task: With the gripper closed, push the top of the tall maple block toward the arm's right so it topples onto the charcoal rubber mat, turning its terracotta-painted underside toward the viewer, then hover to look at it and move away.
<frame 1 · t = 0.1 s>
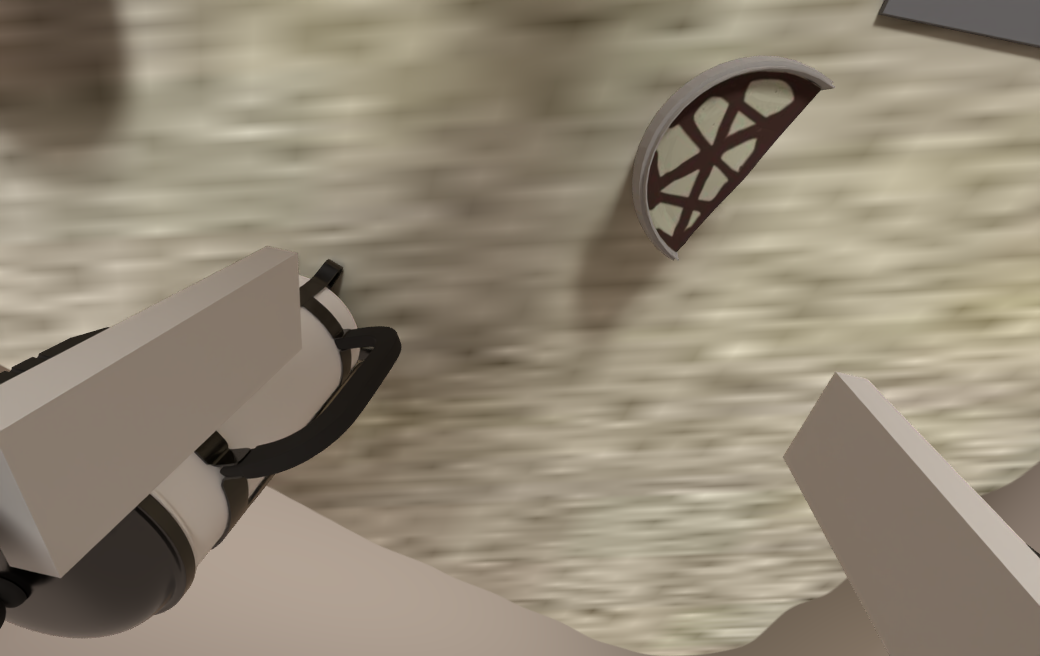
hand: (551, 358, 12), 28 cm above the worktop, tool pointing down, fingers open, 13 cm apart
coffee press: (322, 314, 45), on the worktop
food container: (674, 131, 34), on the worktop
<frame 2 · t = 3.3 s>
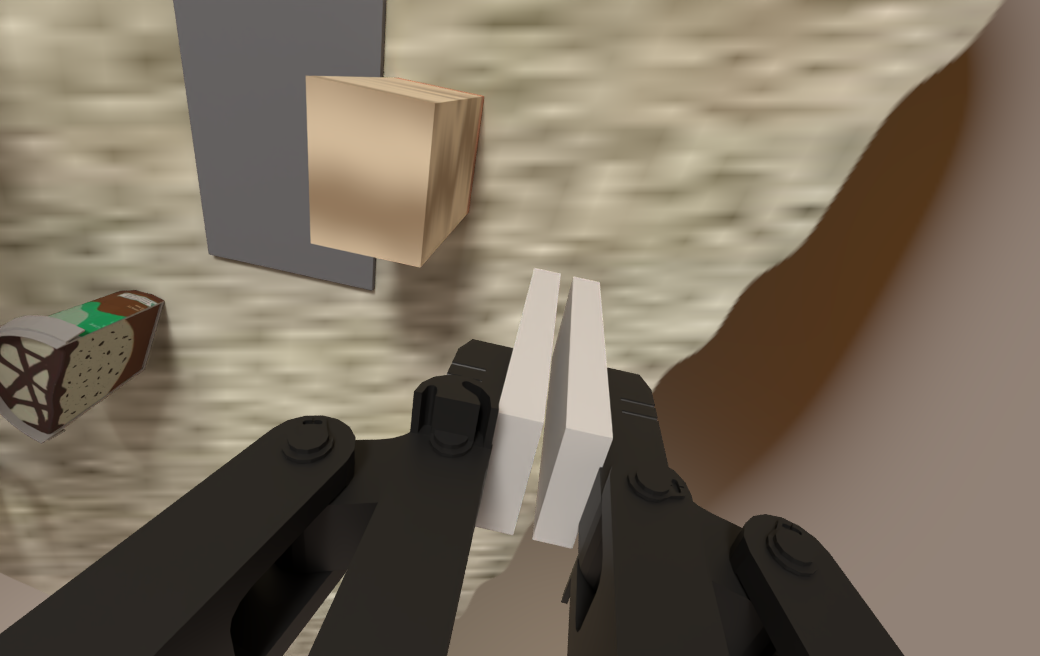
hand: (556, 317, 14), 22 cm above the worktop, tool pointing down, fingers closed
rubber mat: (285, 116, 34), on the worktop
food container: (124, 318, 44), on the worktop
maple block: (435, 148, 34), on the worktop
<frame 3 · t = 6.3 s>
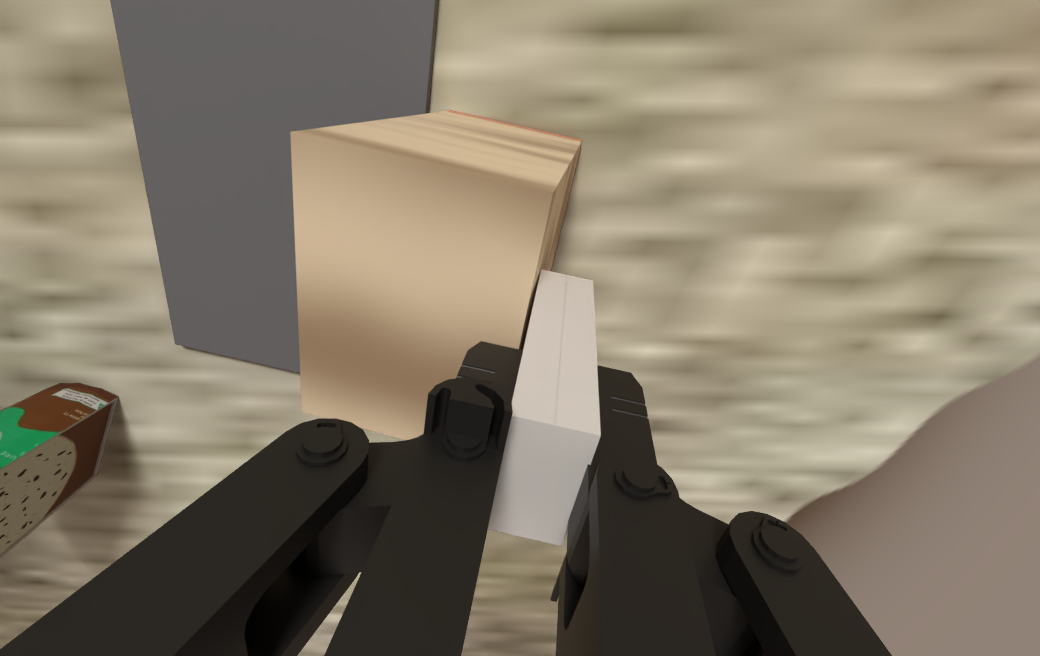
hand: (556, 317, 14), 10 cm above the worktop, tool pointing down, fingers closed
rubber mat: (282, 163, 23), on the worktop
food container: (67, 414, 33), on the worktop
maple block: (501, 213, 23), on the worktop
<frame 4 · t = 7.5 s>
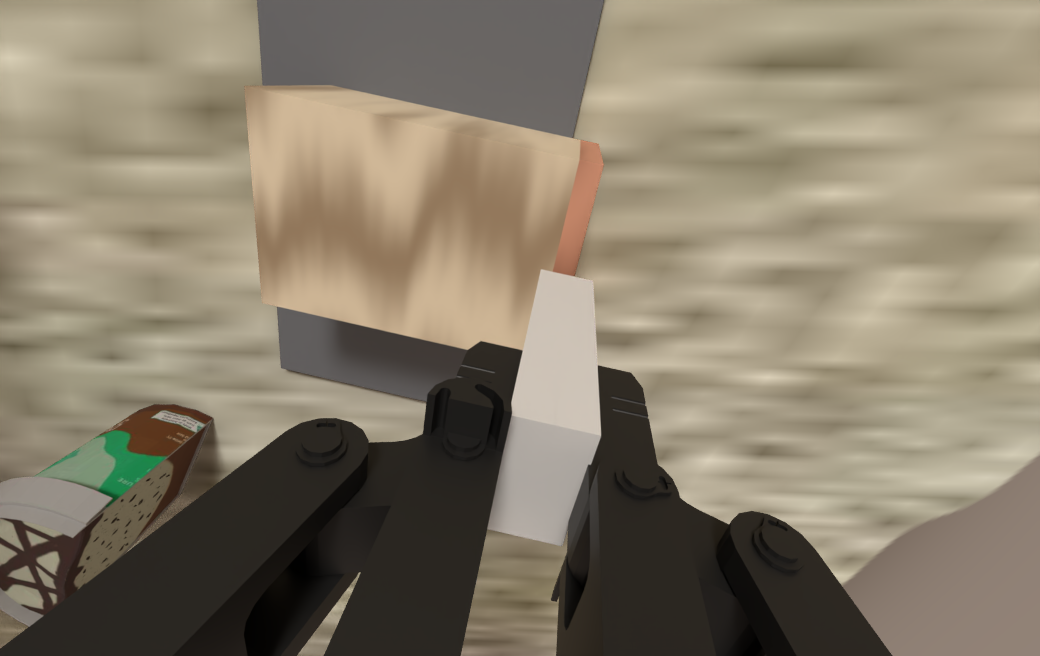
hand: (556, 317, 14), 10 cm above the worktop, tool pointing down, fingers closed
rubber mat: (412, 192, 23), on the worktop
food container: (157, 435, 33), on the worktop
maple block: (575, 251, 20), point 3 cm above the worktop, tilted 90°, touching rubber mat
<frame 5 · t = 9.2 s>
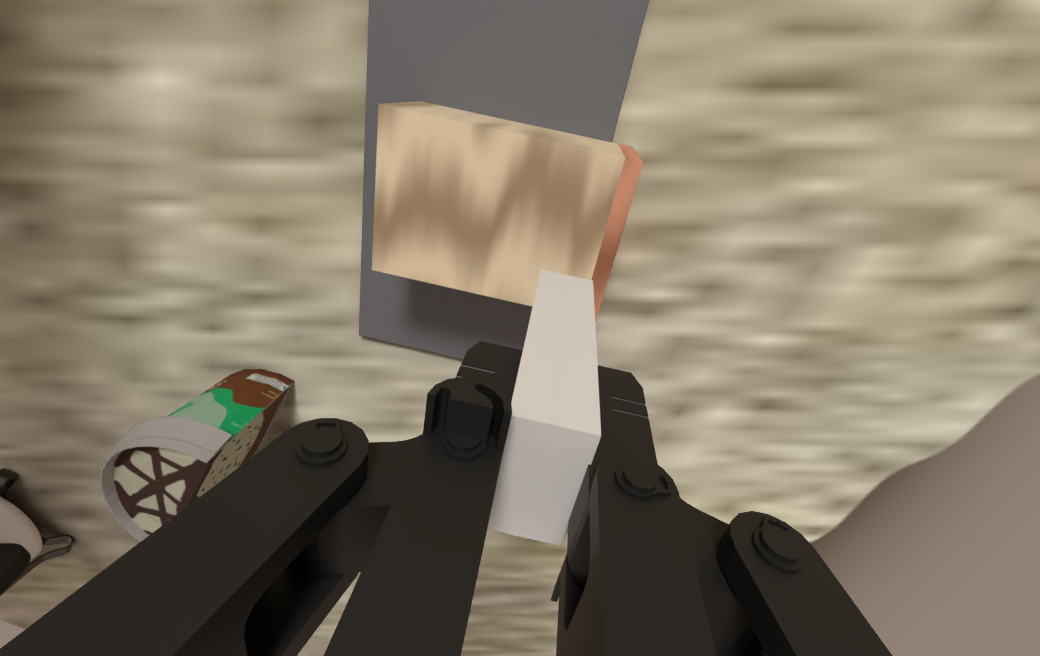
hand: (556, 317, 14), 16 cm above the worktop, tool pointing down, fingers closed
coffee press: (17, 505, 50), on the worktop
rubber mat: (479, 186, 28), on the worktop
food container: (243, 397, 39), on the worktop
maple block: (614, 231, 25), point 3 cm above the worktop, tilted 90°, touching rubber mat
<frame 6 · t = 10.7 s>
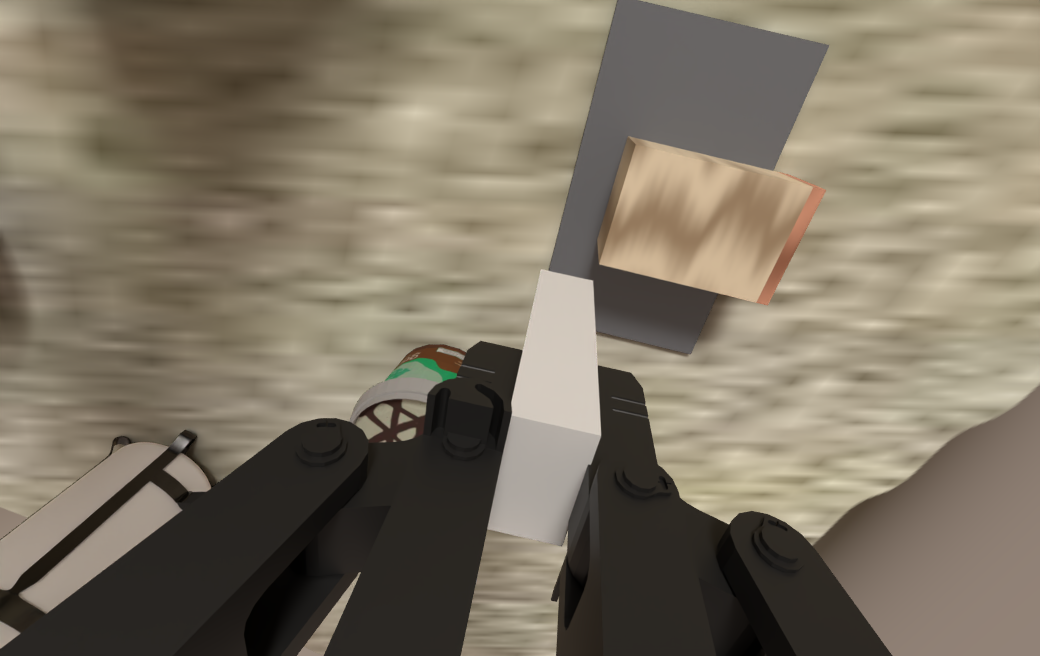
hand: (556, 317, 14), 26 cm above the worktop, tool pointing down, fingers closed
coffee press: (186, 463, 57), on the worktop
rubber mat: (659, 201, 37), on the worktop
food container: (420, 368, 47), on the worktop
maple block: (778, 238, 33), point 3 cm above the worktop, tilted 90°, touching rubber mat
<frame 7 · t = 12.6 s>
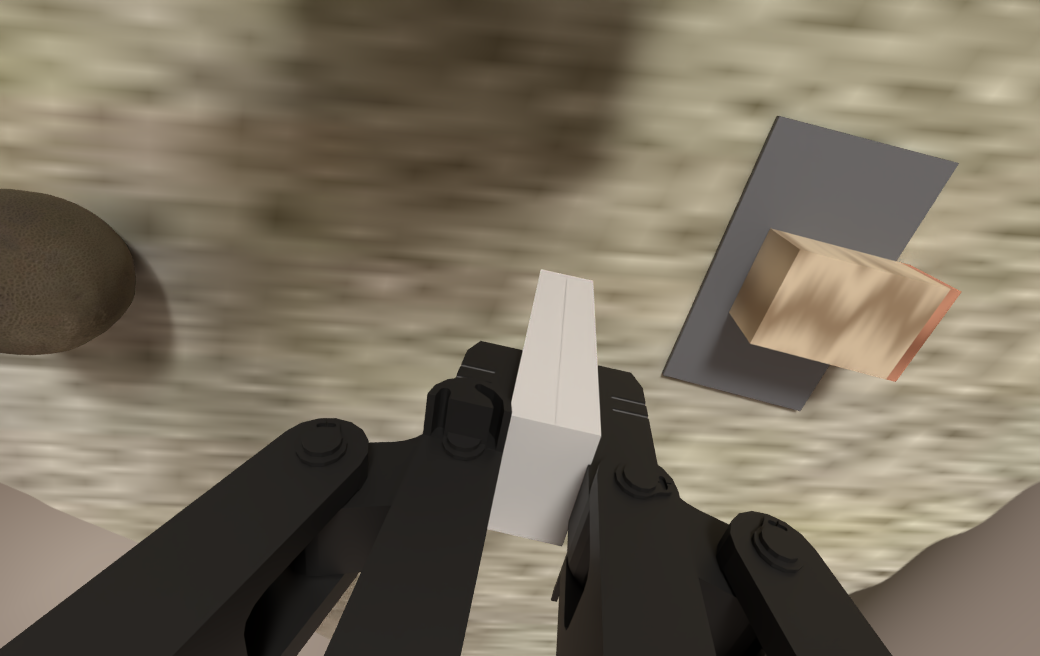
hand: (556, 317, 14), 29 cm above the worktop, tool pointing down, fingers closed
rubber mat: (789, 281, 41), on the worktop
cantaloupe: (114, 245, 48), on the worktop
maple block: (902, 322, 38), point 3 cm above the worktop, tilted 90°, touching rubber mat
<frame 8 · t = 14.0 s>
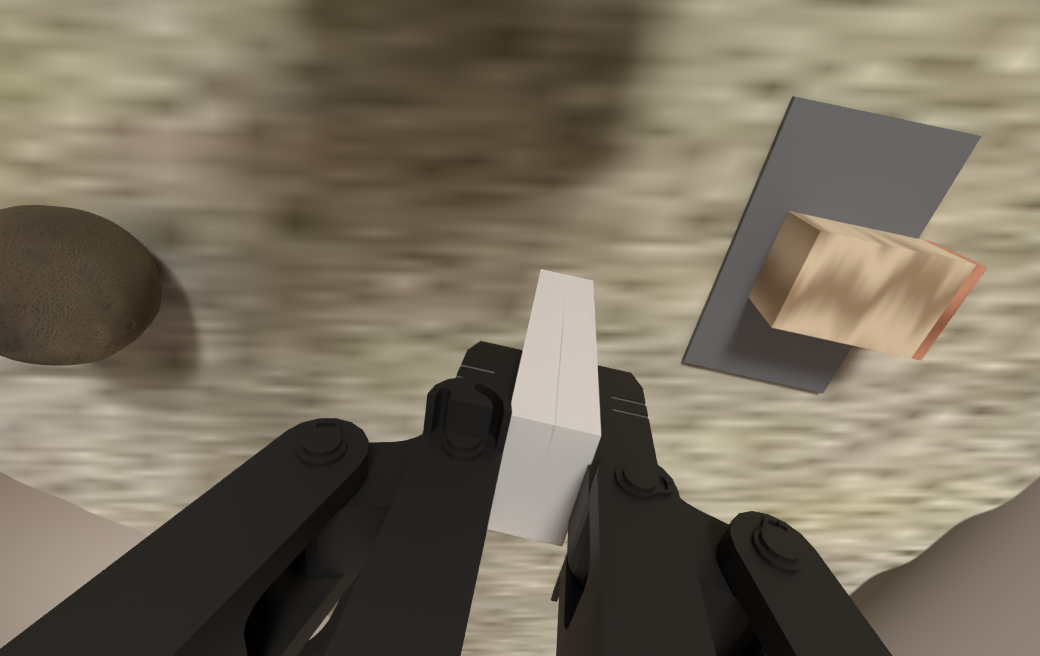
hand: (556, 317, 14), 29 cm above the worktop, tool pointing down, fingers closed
coffee press: (327, 491, 62), on the worktop
rubber mat: (808, 263, 41), on the worktop
cantaloupe: (138, 255, 49), on the worktop
maple block: (926, 300, 38), point 3 cm above the worktop, tilted 90°, touching rubber mat
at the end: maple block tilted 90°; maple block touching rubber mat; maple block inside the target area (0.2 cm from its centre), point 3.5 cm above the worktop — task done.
